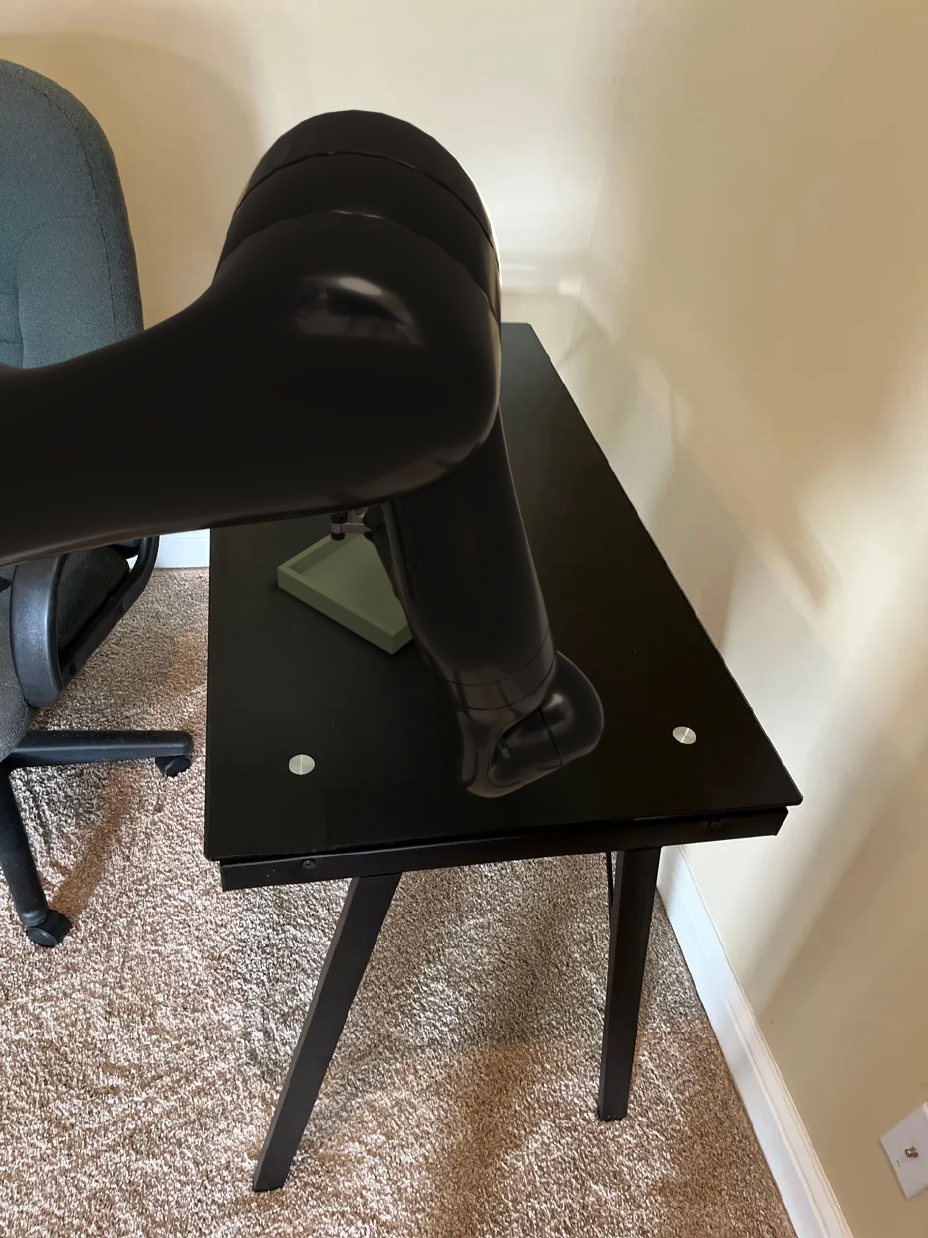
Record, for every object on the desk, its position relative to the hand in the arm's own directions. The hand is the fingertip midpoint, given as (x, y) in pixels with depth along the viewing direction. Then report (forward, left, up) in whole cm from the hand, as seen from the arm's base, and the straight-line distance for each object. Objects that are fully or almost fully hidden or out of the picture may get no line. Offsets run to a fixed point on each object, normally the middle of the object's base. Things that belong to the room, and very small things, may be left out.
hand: (379, 457), depth 75 cm
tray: (+5, +1, -18) cm, 18 cm away
